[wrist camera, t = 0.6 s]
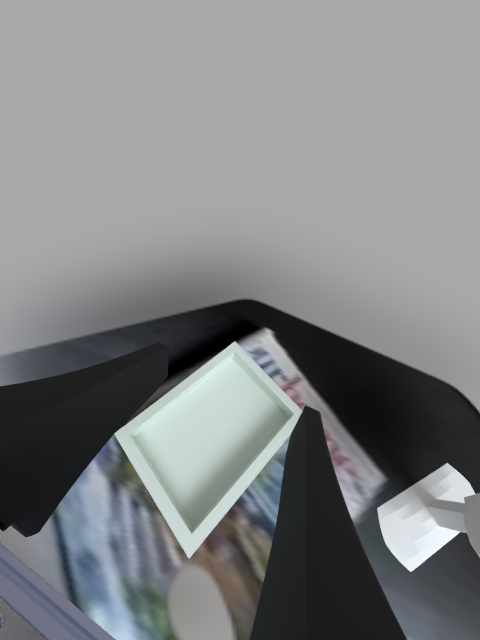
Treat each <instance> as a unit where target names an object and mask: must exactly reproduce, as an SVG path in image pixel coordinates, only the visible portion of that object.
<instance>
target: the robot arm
mask: <svg viewBox="0 0 480 640" xmlns="http://www.w3.org/2000/svg"><path fill="white" fill-rule="evenodd" d="M168 350H169V347H168V346H165V345H163V344H161V343H156V344H154V345H151V346H148V347H145V348H143V349H140V350H138V351H135V352H132V353H130V354H127V355H124V356H121V357H119V358H116V359H113V360H110V361H107V362H104V363H101V364H98V365H95V366H92V367H89V368H85V369H82V370H78V371H75V372H71V373H67V374H63V375H59V376H54V377H49V378H45V379H40V380H35V381H30V382H25V383H19V384H13V385H7V386H0V529H1V530H2V531H5V530H6V529H7V528H8V527H9V526H10V525H11V526H12V527H13V528H15V529H16V530H17V531H18V532H20V533H21V534H22V535H24V536H25V537H29V536H32V535H35V534H36V533H38V532H40V530H41V529H42V527H43V526H44V524H45V523H46V521H47V520H48V519H49V517H50V516H51V514H52V513H53V512H54V510H55V509H56V507H57V506H58V505H59V503H60V502H61V500H62V499H63V498H64V496H65V495H66V494H67V492H68V491H69V490H70V488H71V487H72V486H73V484H74V483H75V482H76V480H77V479H78V478H79V476H80V475H81V474H82V472H83V471H84V470H85V469H86V467H87V466H88V465H89V464H90V462H91V461H92V460H93V459H94V457H95V456H96V455H97V454H98V452H99V451H100V450H101V449H102V447H103V446H104V445H105V444H106V443H107V441H108V440H109V439H110V438H111V437H112V436H113V434H114V433H115V432H116V431H117V430H118V429H119V428H120V427H121V426H122V425H123V424H124V423H125V422H126V421H127V420H128V419H129V418H130V417H131V416H132V415H133V414H134V413H135V412H136V411H137V410H138V409H139V408H140V407H141V406H142V405H143V404H144V403H145V402H146V401H147V400H148V399H149V398H150V397H151V396H152V394H153V393H154V392H155V391H156V390H157V389H158V388H159V386H160V385H161V384H162V382H163V381H164V380H165V378H166V377H167V376H168ZM0 598H1V599H3V600H4V601H5V602H6V603H7V604H8V605H9V606H10V607H11V608H12V609H14V610H15V611H16V612H17V613H18V614H19V615H20V616H21V617H22V618H23V619H24V620H26V621H27V622H28V623H29V624H30V625H31V626H32V627H33V628H34V629H35V630H37V631H38V632H39V633H40V634H41V635H42V636H43V637H44V638H45V639H46V640H116V639H114V638H113V637H112V636H111V635H109V634H108V633H107V632H106V631H105V630H103V629H102V628H101V627H100V626H99V625H97V624H96V623H95V622H94V621H93V620H91V619H90V618H89V617H88V616H87V615H85V614H84V613H83V612H82V611H81V610H79V609H78V608H77V607H76V606H75V605H73V604H72V603H71V602H70V601H69V600H67V599H66V598H65V597H64V596H63V595H61V594H60V593H59V592H58V591H57V590H55V589H54V588H53V587H52V586H51V585H49V584H48V583H47V582H46V581H45V580H43V579H42V578H41V577H40V576H39V575H37V574H36V573H35V572H34V571H33V570H31V569H30V568H29V567H28V566H27V565H25V564H24V563H23V562H22V561H21V560H19V559H18V558H17V557H16V556H15V555H13V554H12V553H11V552H10V551H9V550H7V549H6V548H5V547H4V546H3V545H1V544H0ZM4 620H5V619H4V618H3V616H2V615H1V614H0V628H1V627H2V625H3V624H4ZM250 640H407V639H406V637H405V635H404V633H403V631H402V629H401V627H400V625H399V623H398V621H397V619H396V617H395V615H394V613H393V611H392V609H391V607H390V605H389V602H388V600H387V598H386V596H385V594H384V592H383V590H382V587H381V585H380V583H379V581H378V579H377V577H376V575H375V573H374V570H373V568H372V566H371V564H370V562H369V560H368V557H367V555H366V553H365V550H364V548H363V546H362V543H361V541H360V539H359V536H358V534H357V532H356V529H355V527H354V524H353V522H352V519H351V516H350V514H349V511H348V509H347V506H346V503H345V500H344V498H343V495H342V492H341V489H340V486H339V483H338V480H337V477H336V474H335V470H334V467H333V464H332V460H331V457H330V453H329V450H328V446H327V442H326V438H325V434H324V429H323V424H322V419H321V414H320V412H319V411H317V410H315V409H312V408H310V407H308V406H305V407H304V409H303V411H302V413H301V415H300V417H299V419H298V421H297V423H296V425H295V427H294V429H293V431H292V433H291V437H290V441H289V445H288V449H287V453H286V458H285V466H284V473H283V480H282V488H281V495H280V503H279V510H278V517H277V523H276V528H275V533H274V537H273V542H272V547H271V551H270V556H269V560H268V565H267V569H266V573H265V578H264V582H263V587H262V591H261V595H260V599H259V604H258V608H257V612H256V616H255V620H254V625H253V629H252V633H251V637H250Z"/></svg>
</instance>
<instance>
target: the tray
mask: <svg viewBox="0 0 480 640" xmlns="http://www.w3.org/2000/svg"><path fill="white" fill-rule="evenodd" d="M301 413H302V410H301V409H300V408H299V407H298V406H297V405H296V404H295V403H294V402H293V401H292V400H291V399H290V398H289V396H288V395H287V394H286V393H285V392H284V391H283V390H282V389H281V388H280V387H279V386H278V385H277V384H276V383H275V382H274V381H273V380H272V379H271V378H270V377H269V376H268V375H267V374H266V373H265V372H264V371H263V370H262V369H261V368H260V367H259V366H258V364H257V363H256V362H255V361H254V360H253V359H252V358H251V357H250V356H249V355H248V354H247V353H246V352H245V351H244V350H243V349H242V348H241V347H240V346H239V345H238V344H237V343H236V342H233V343H232V344H231V345H229V346H228V347H227V348H226V349H224V350H223V351H222V352H220V353H219V354H218V355H216V356H215V357H214V358H212V359H211V360H210V361H209V362H207V363H206V364H205V365H203V366H202V367H201V368H199V369H198V370H197V371H195V372H194V373H193V374H192V375H190V376H189V377H188V378H186V379H185V380H184V381H182V382H181V383H180V384H178V385H177V386H176V387H175V388H173V389H172V390H171V391H169V392H168V393H167V394H165V395H164V396H163V397H161V398H160V399H159V400H158V401H156V402H155V403H154V404H152V405H151V406H150V407H148V408H147V409H146V410H144V411H143V412H142V413H141V414H139V415H138V416H137V417H135V418H134V419H133V420H131V421H130V422H129V423H127V424H126V425H125V426H124V427H122V428H121V429H120V430H118V431H117V432H116V433H114V435H115V436H116V438H117V440H118V441H119V443H120V445H121V446H122V448H123V450H124V451H125V453H126V455H127V456H128V458H129V460H130V461H131V463H132V465H133V466H134V468H135V470H136V471H137V473H138V475H139V476H140V478H141V480H142V481H143V483H144V485H145V486H146V488H147V490H148V491H149V493H150V495H151V496H152V498H153V500H154V501H155V503H156V505H157V506H158V508H159V510H160V511H161V513H162V515H163V516H164V518H165V520H166V521H167V523H168V525H169V526H170V528H171V530H172V531H173V533H174V535H175V536H176V538H177V540H178V541H179V543H180V545H181V546H182V548H183V549H184V551H185V553H186V554H187V556H188V558H190V557H191V556H192V554H193V553H194V552H195V551H196V550H197V548H198V547H199V546H200V545H201V543H202V542H203V541H204V540H205V539H206V537H207V536H208V535H209V534H210V532H211V531H212V530H213V529H214V527H215V526H216V525H217V524H218V523H219V521H220V520H221V519H222V518H223V516H224V515H225V514H226V513H227V512H228V510H229V509H230V508H231V507H232V505H233V504H234V503H235V502H236V500H237V499H238V498H239V497H240V496H241V494H242V493H243V492H244V491H245V489H246V488H247V487H248V486H249V485H250V483H251V482H252V481H253V480H254V478H255V477H256V476H257V475H258V473H259V472H260V471H261V470H262V469H263V467H264V466H265V465H266V464H267V462H268V461H269V460H270V459H271V458H272V456H273V455H274V454H275V453H276V451H277V450H278V449H279V448H280V446H281V445H282V444H283V443H284V442H285V440H286V439H287V438H288V437H289V435H290V434H291V433H292V431H293V429H294V427H295V425H296V423H297V421H298V419H299V417H300V415H301Z"/></svg>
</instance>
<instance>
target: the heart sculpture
mask: <svg viewBox="0 0 480 640" xmlns="http://www.w3.org/2000/svg"><path fill="white" fill-rule="evenodd" d="M377 510H378V516H379V522H380V527H381V531H382V535H383V538H384V540H385V543H386V545H387V546H388V548H389V549H390V551H391V552H392V553H393V555H394V556H395V557H396V558H397V559H398V560H399V561H400V562H401V563H402V564H403V565H404V566H405V567H406V568H407V569H408V570H409V571H410V572H412V571H413V570H414V569H415V568H417V567H418V566H419V565H420V564H421V563H423V562H424V561H425V560H426V559H428V558H429V557H430V556H431V555H433V554H434V553H435V552H436V551H437V550H439V549H440V548H441V547H442V546H444V545H445V544H446V543H447V542H449V541H450V540H451V539H452V538H453V537H455V536H456V535H457V534H458V533H460V532H464V533H467V534H468V537H469V541H470V543H471V545H472V546H473V548H474V550H475V551H476V553H477V554H478V556H479V557H480V493H478V494H475V492H474V490H473V489H472V487H471V485H470V483H469V482H468V481H467V480H466V479H465V478H464V477H463V476H462V475H461V474H460V473H459V472H458V471H457V470H455V469H454V468H453V467H451V466H450V465H449V464H448V463H447V464H445V465H444V466H442V467H441V468H439V469H438V470H436V471H434V472H433V473H431V474H430V475H428V476H427V477H425V478H424V479H422V480H420V481H419V482H417V483H416V484H414V485H413V486H411V487H410V488H408V489H406V490H405V491H403V492H402V493H400V494H399V495H397V496H396V497H394V498H392V499H391V500H389V501H388V502H386V503H385V504H383V505H382V506H380V507H378V508H377Z"/></svg>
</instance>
